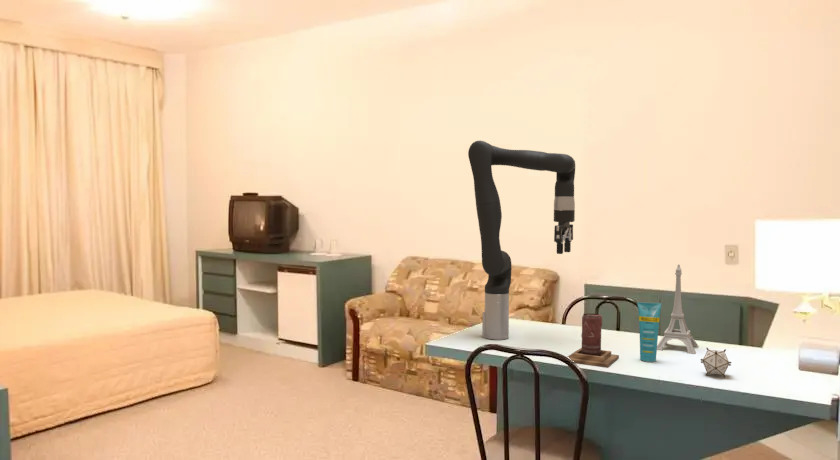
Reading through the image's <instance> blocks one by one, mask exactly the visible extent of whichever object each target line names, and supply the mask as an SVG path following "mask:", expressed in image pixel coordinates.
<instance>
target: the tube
mask: <svg viewBox="0 0 840 460" xmlns="http://www.w3.org/2000/svg"><path fill="white" fill-rule="evenodd" d="M636 303H637V304H636V305H637V309H638V310H637V311H638V322H639V323H638V325H639V328H638V329H639V359H640V361H643V362H646V363H654V362H656V361H657V352H658V350H657V345H658V337H659V327H660V318H661V312H662V310H661V309H662V302H645V301H643V302H641V301H637V302H636Z"/></svg>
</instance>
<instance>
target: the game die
mask: <svg viewBox="0 0 840 460" xmlns="http://www.w3.org/2000/svg"><path fill="white" fill-rule="evenodd" d="M706 350H707V351H706V352H705V355H704V356H703V358H700V363H701V364H703V365H704V366H703V367H704V368H705V371H706V373H705V376H708V375H718V376H723V378H726V375H725V374H726V372H727V369H728V367H729V366H732V361H729V358H728V357H727V355H726V353H725V352H726V351H727V349H726V348H725V349H723V350H714V349H709V347H706Z"/></svg>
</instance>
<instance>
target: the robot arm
mask: <svg viewBox="0 0 840 460" xmlns="http://www.w3.org/2000/svg"><path fill="white" fill-rule="evenodd" d="M467 153H468V155H467V156H468V161H469V164H470V167H471V173H472V177H473V186H474V187H473V188H474V189H473V190H474V198H475V207H476V214H477V220H478V228H479V229H478V230H479V234H480V244H481V245H480V246H481V266H482V268H483V271H484V273H486V274H487V275H488V276H487V280H486V281H487V282H486V283H485V285H484V311H483V312H482V318H481V319H482V320H481V321H482V329H481V331H482V336H481V338H485V339H488V340H498V341H499V340H501V341H502V340H508V339H509V337H510V335H509V331H510V329H509V328H510V317H509V316H510V287H511V283H512V259H511V257H510V255H509V253H507V251H504V250H502V247H501V243H500V242H501V240H500V232H501V225H502V217H503V216H502V207H501V205H502V204H501V199H500V196H499V192H498V189H497V186H496V183H495V180H494V177H493V171H492V170H493V169H492V166H509V167H513V168H520V169H524V170H525V169H526V170H532V171H540V172H542V171H543V172H545V171H547V172H553V173H556V174H555V175H556V180H555V184H554V200H553V222H554V223H557V225H556V224H555V225H554V230H553V231H554V234H553V235H554V237H553V239H554V240H553V241H554V243H555V244H556V254H558V255H563V253H570V252H571V247H572V246H571V244H572V243H571V242H572V241H573V240H574V224H572V223H573V222H575V217H576V216H575V215H576V213H575V212H576V211H575V208H576V207H575V206H576V203H575V177H576V176H575V175H576V161H575V159H574V158H573V157H572V156H571V155H569V154H566V153H557V152H556V153H552V152H545V151H540V150H539V151H538V150H530V149H508V148H503V147H498V146H496V145H492V144H490V143H488V142H487V141H485V140H476V141H473V142H472V143H471V145H470V146H469V148H468V151H467Z"/></svg>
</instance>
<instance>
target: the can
mask: <svg viewBox="0 0 840 460" xmlns="http://www.w3.org/2000/svg"><path fill="white" fill-rule="evenodd" d="M602 326H603V316H602V315H601V314H598V313H582V317H581V348H582V354H586V355H594V356H601V350H602Z"/></svg>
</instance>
